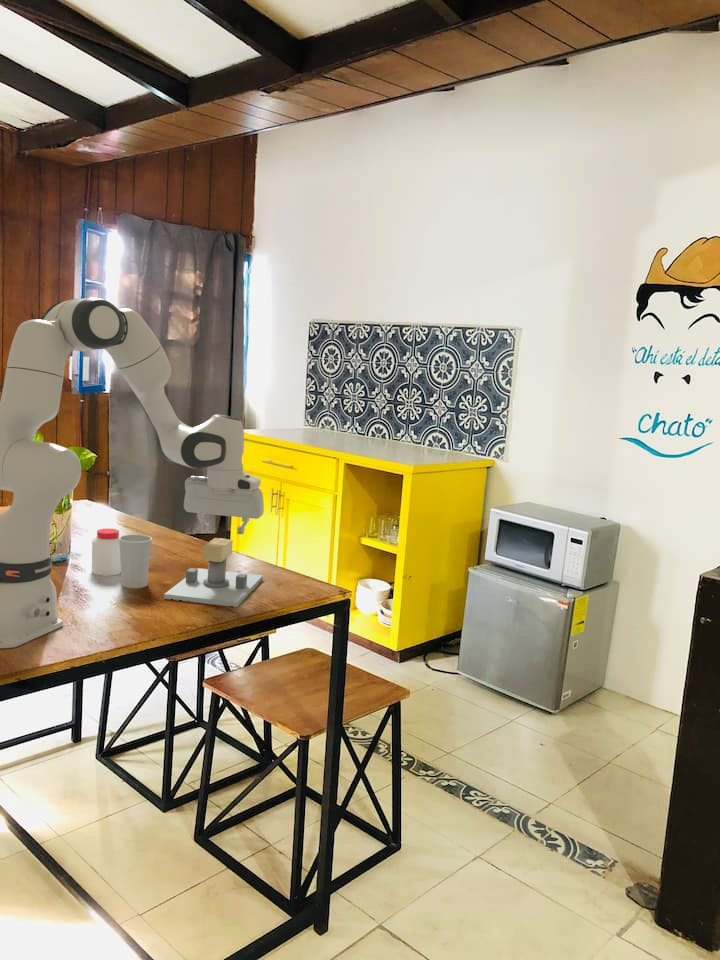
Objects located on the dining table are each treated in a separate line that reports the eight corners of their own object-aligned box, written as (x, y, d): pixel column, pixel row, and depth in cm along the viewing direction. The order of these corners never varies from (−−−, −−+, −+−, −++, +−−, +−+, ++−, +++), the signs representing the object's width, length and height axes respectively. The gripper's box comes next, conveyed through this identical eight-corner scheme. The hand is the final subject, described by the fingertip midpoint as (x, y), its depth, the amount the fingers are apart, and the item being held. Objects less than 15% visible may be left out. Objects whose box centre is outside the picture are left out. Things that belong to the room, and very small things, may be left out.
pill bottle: (103, 577, 202) (104, 535, 200) (85, 570, 207) (86, 529, 205) (128, 572, 208) (129, 531, 207) (110, 565, 213) (111, 526, 211)
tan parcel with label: (221, 566, 194) (221, 547, 193) (202, 564, 194) (203, 545, 194) (231, 557, 203) (232, 539, 202) (213, 555, 203) (214, 537, 203)
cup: (134, 577, 204) (136, 532, 202) (157, 584, 200) (159, 538, 198) (110, 584, 197) (112, 537, 195) (134, 591, 193) (135, 543, 191)
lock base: (236, 607, 187) (238, 578, 186) (164, 598, 189) (165, 569, 188) (262, 579, 210) (264, 553, 209) (197, 572, 213) (198, 546, 211)
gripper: (180, 477, 197) (179, 530, 199) (260, 484, 194) (257, 538, 197) (189, 473, 203) (187, 525, 205) (266, 480, 201) (264, 533, 203)
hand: (222, 532), depth 201 cm, fingers open, 8 cm apart
